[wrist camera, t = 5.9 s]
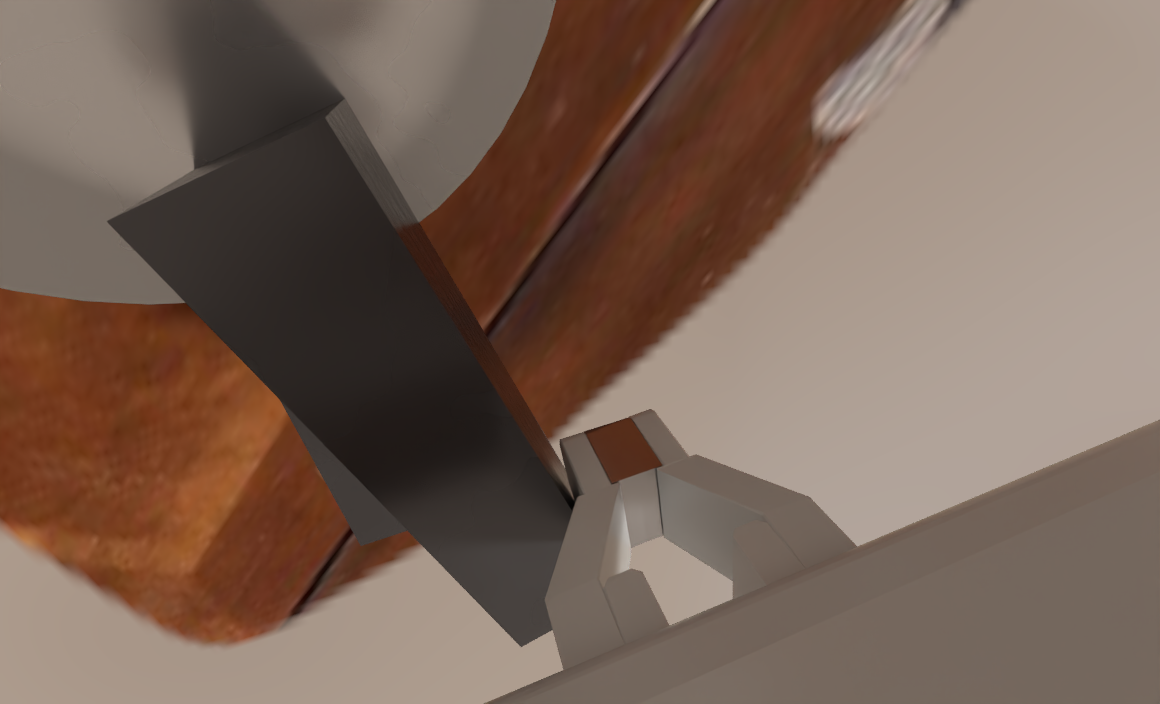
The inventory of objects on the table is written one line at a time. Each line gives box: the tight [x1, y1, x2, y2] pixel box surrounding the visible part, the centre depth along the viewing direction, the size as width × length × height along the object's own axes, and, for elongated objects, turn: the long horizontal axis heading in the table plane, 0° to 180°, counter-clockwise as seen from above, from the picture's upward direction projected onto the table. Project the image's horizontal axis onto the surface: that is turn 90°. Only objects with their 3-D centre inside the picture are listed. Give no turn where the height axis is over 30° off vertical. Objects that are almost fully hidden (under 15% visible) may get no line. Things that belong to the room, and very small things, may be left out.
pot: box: [280, 400, 407, 546], centre depth 11 cm, size 23×12×8 cm, turn 8°
